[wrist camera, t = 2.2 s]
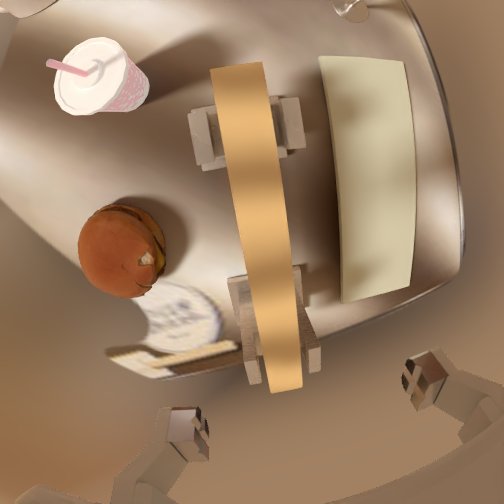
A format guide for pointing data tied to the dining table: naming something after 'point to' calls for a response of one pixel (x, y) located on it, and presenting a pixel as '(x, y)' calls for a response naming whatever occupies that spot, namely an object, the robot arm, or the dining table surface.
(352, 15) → the goblet set
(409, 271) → the mat
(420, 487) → the robot arm
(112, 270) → the burger
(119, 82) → the beverage cup
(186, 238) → the dining table surface
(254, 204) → the bar
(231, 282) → the rack
